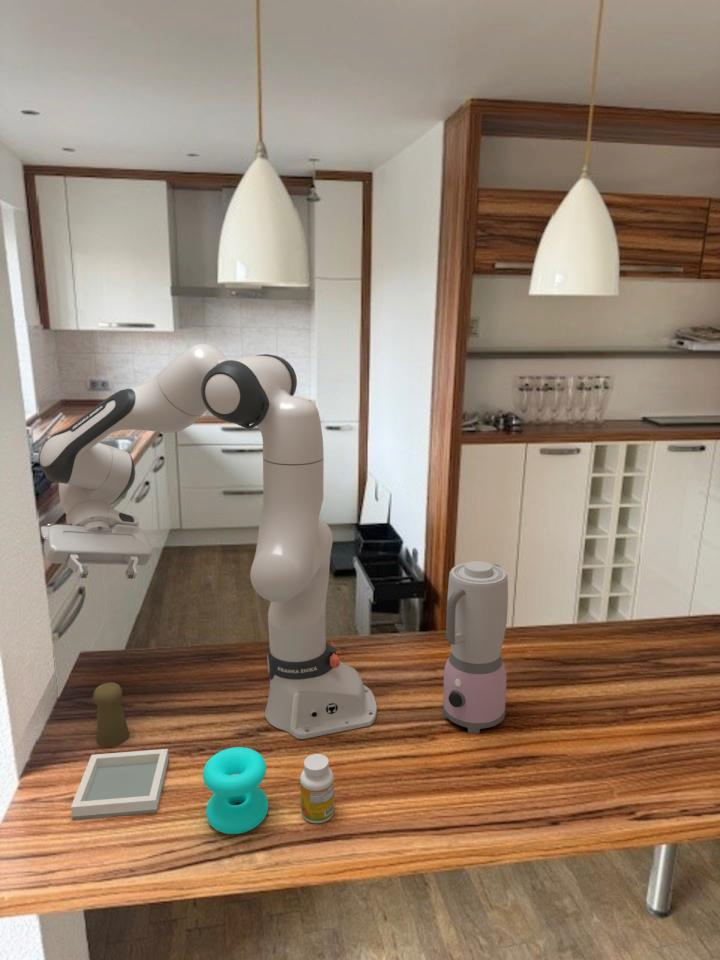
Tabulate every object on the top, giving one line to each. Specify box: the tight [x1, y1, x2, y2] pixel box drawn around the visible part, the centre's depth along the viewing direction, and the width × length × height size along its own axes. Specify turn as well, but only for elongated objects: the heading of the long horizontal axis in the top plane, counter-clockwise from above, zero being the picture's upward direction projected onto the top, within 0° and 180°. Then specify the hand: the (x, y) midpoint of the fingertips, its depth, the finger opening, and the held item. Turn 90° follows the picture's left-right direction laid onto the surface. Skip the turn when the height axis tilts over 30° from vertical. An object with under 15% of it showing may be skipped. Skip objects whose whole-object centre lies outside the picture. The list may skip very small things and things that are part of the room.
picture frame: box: [70, 748, 170, 821], centre depth 123 cm, size 13×13×2 cm
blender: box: [442, 560, 509, 735], centre depth 137 cm, size 16×12×32 cm
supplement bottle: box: [299, 753, 335, 824], centre depth 116 cm, size 5×5×10 cm
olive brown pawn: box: [92, 682, 130, 748], centre depth 136 cm, size 6×6×11 cm
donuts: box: [202, 746, 269, 835], centre depth 115 cm, size 10×10×10 cm
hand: (108, 576), depth 135 cm, fingers open, 8 cm apart
